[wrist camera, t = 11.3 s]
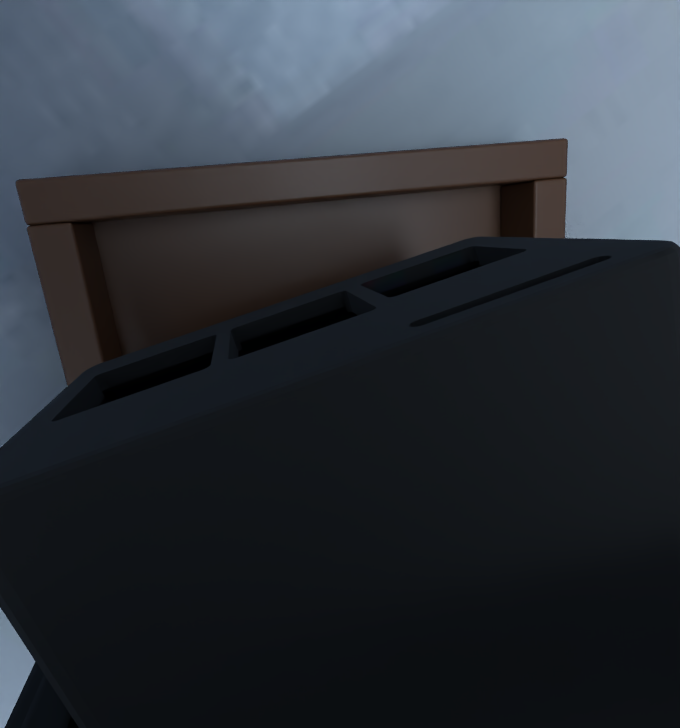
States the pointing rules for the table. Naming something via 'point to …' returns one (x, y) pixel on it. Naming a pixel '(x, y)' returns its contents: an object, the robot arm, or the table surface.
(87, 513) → the electronic device
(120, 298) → the docking tray
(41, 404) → the table surface
